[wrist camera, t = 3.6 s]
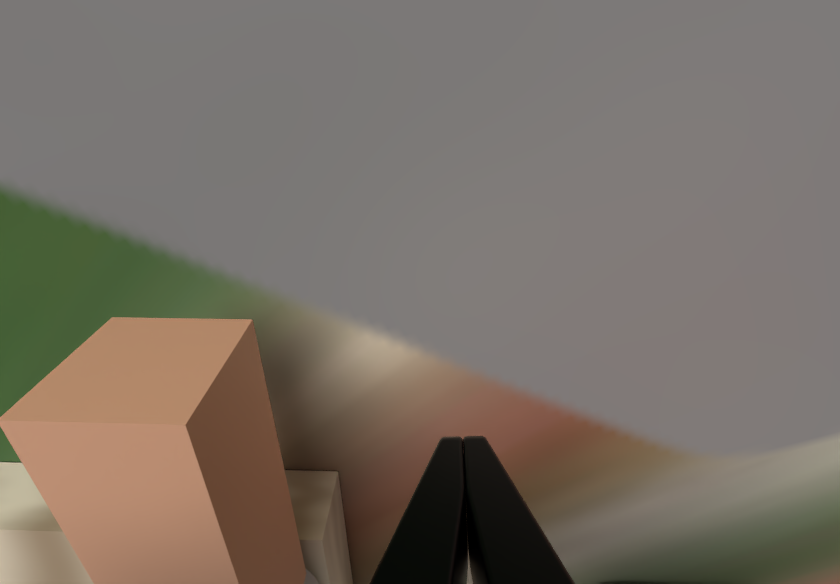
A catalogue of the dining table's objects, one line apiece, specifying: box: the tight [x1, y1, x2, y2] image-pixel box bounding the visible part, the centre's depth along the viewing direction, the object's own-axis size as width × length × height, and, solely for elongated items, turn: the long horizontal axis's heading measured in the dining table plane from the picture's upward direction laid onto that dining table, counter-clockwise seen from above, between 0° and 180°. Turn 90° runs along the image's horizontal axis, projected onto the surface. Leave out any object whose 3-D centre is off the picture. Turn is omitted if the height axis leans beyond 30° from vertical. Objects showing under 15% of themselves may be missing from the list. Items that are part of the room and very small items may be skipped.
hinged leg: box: [0, 317, 319, 584], centre depth 12 cm, size 12×4×3 cm, turn 0°
